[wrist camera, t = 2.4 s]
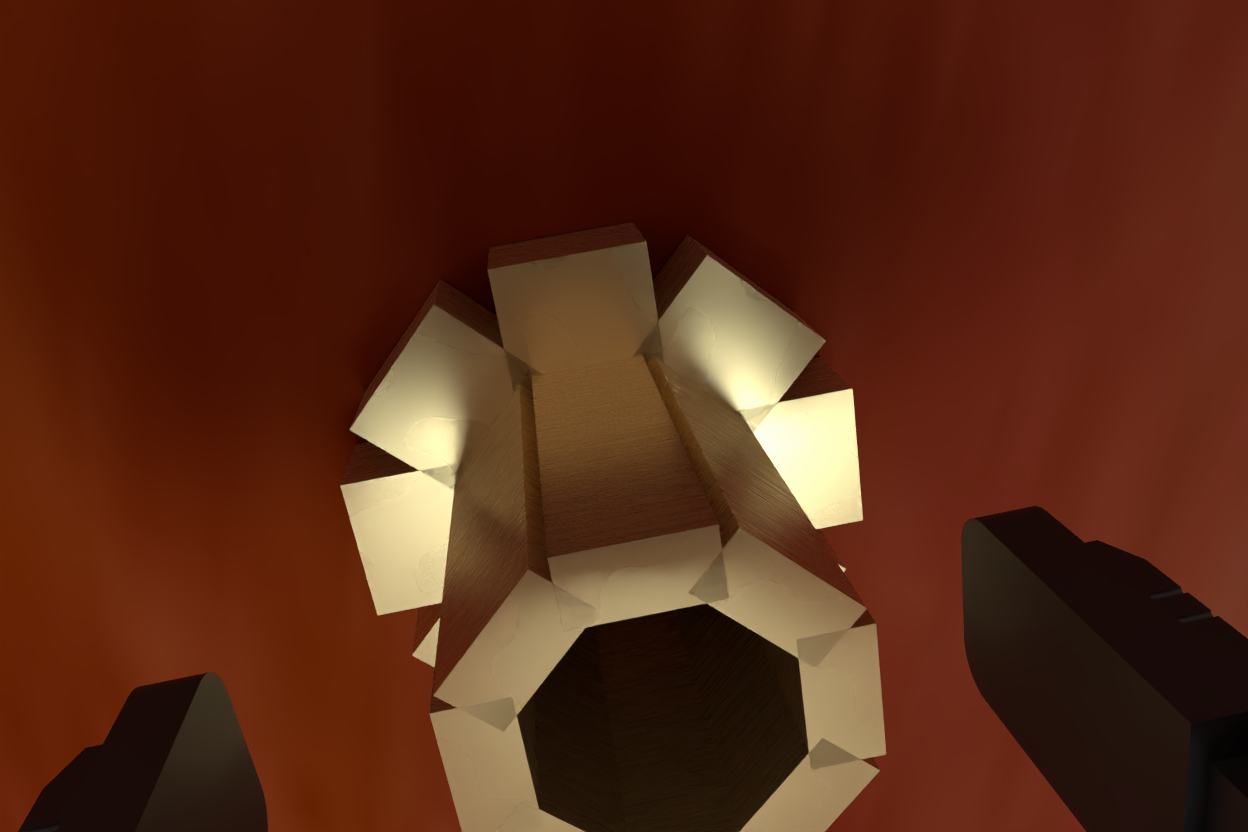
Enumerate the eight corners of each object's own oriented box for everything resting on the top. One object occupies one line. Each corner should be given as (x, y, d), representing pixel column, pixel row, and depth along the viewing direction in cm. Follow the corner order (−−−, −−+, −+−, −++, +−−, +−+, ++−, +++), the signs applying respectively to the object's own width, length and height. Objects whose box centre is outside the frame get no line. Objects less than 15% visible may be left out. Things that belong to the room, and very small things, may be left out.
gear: (805, 190, 15) (1031, 298, 9) (843, 612, 18) (1037, 934, 11) (310, 279, 15) (159, 460, 8) (425, 697, 18) (380, 1079, 11)
